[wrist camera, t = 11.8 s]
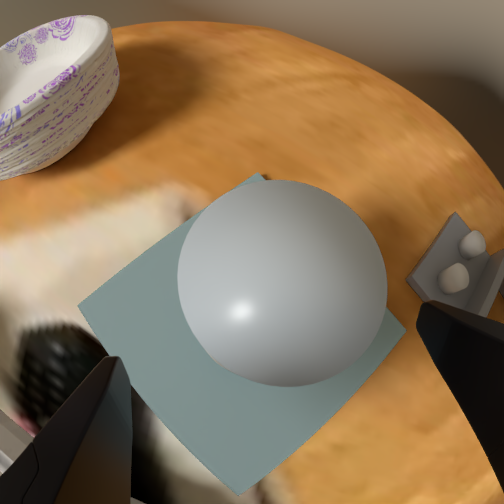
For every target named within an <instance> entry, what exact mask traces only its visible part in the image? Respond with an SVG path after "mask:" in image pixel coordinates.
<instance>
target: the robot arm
mask: <svg viewBox="0 0 504 504" xmlns="http://www.w3.org/2000/svg"><path fill="white" fill-rule="evenodd" d="M416 328H417V331H418V333H419V335H420V337H421V338H422V340H423V342H424V344H425V346H426V348H427V350H428V352H429V354H430V356H431V358H432V360H433V362H434V364H435V366H436V367H437V369H438V371H439V372H440V374H441V375H442V377H443V379H444V380H445V382H446V384H447V385H448V387H449V389H450V390H451V392H452V394H453V395H454V397H455V399H456V400H457V402H458V404H459V406H460V407H461V409H462V411H463V413H464V414H465V416H466V418H467V420H468V421H469V423H470V425H471V427H472V429H473V431H474V432H475V434H476V436H477V438H478V440H479V442H480V444H481V446H482V448H483V450H484V452H485V454H486V456H487V457H488V460H489V462H490V464H491V466H492V468H493V470H494V472H495V475H496V477H497V479H498V481H499V483H500V486H501V488H502V490H503V492H504V324H503V323H500V322H497V321H494V320H491V319H488V318H486V317H483V316H480V315H477V314H474V313H471V312H468V311H465V310H462V309H460V308H457V307H454V306H451V305H448V304H445V303H442V302H439V301H436V300H429V301H426V302H423V303H422V305H421V307H420V311H419V315H418V318H417V322H416ZM131 452H132V415H131V386H130V379H129V376H128V374H127V371H126V369H125V366H124V364H123V362H122V359H121V358H120V357H119V356H107V357H104V358H103V359H102V360H101V362H100V363H99V364H98V365H97V366H96V367H95V368H94V369H93V370H92V372H91V373H90V374H89V375H88V376H87V377H86V378H85V379H84V381H83V382H82V383H81V384H80V385H79V386H78V387H77V389H76V390H75V391H74V392H73V393H72V394H71V395H70V397H69V398H68V399H67V400H66V401H65V402H64V403H63V405H62V406H61V407H60V408H59V409H58V410H57V412H56V413H55V414H54V415H53V416H52V417H51V419H50V420H49V421H48V422H47V423H46V424H45V426H44V427H43V428H42V429H41V430H40V432H39V433H38V434H37V435H36V436H35V438H34V439H33V442H30V443H29V445H28V446H27V447H26V448H25V449H24V451H23V452H22V453H21V454H20V455H19V456H18V458H17V459H16V460H15V461H14V462H13V463H12V465H11V466H10V467H9V468H8V469H7V470H6V471H5V472H4V473H3V474H2V475H1V476H0V504H131Z"/></svg>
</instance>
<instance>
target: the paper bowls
mask: <svg viewBox="0 0 504 504" xmlns="http://www.w3.org/2000/svg"><path fill="white" fill-rule="evenodd" d="M119 74H120V73H119V68H118V62H117V58H116V53H115V47H114V43H113V37H112V32H111V28H110V25H109V24H108V22H106V21H105V20H104V19H102V18H100V17H97V16H90V15H78V16H71V17H66V18H61V19H58V20H55V21H52V22H49V23H46V24H43V25H41V26H38V27H36V28H33V29H31V30H29V31H27V32H25V33H23V34H21V35H19V36H18V37H16V38H14V39H13V40H11V41H9V42H8V43H6V44H5V45H3V46H2V47H0V180H6V179H9V178H12V177H16V176H18V175H21V174H27V173H32V172H35V171H38V170H41V169H43V168H45V167H47V166H49V165H51V164H53V163H54V162H56V161H58V160H59V159H60V158H62V157H63V156H65V155H66V154H67V153H69V152H70V151H71V150H72V149H73V148H74V147H75V146H76V145H77V144H78V143H79V142H80V141H81V140H82V139H83V138H84V137H85V135H86V134H87V133H88V131H89V130H90V128H91V126H92V125H93V123H94V122H95V121H96V120H97V119H98V118H99V117H100V116H101V115H102V114H103V113H104V111H105V110H106V108H107V107H108V106H109V104H110V103H111V101H112V100H113V98H114V96H115V94H116V91H117V88H118V85H119V77H120V75H119Z"/></svg>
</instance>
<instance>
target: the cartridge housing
mask: <svg viewBox="0 0 504 504" xmlns="http://www.w3.org/2000/svg"><path fill="white" fill-rule="evenodd" d="M485 249H486V243H485V239H484V237H483V236H482V234H481V233H480V232H479V231H477V230H474V231H471V230H470V229H469V228H468V226H467V225H466V224H465V223H464V221H463V220H462V219H461V218H460V217H459V215H458V214H457V213H456V212H454V213H453V214H452V215H451V216H450V217H449V218H448V220H447V221H446V223H445V225H444V226H443V228H442V229H441V231H440V232H439V234H438V235H437V237H436V238H435V239H434V241H433V242H432V244H431V245H430V247H429V248H428V250H427V251H426V252H425V254H424V255H423V257H422V258H421V259H420V261H419V262H418V264H417V265H416V266H415V268H414V269H413V270H412V272H411V273H410V274H409V276H408V277H407V278H406V281H407V282H408V284H409V285H410V286H411V287H412V288H413V289H414V291H415V292H416V293H417V294H418V295H419V297H420V298H421V299H422V300H423V301H424V302H426V301H429V300H436V301H439V302H442V303H445V304H448V305H451V306H454V307H457V308H460V309H462V310H465V311H468V312H471V313H474V314H477V315H480V316H483V317H487V315H488V313H489V311H490V309H491V307H492V304H493V302H494V300H495V297H496V295H497V293H498V290H499V291H500V293H501V294H502V296H503V298H504V249H502V250H500V251H498V252H497V253H495V254H493V255H491V256H490V255H489V254H488V253H487V251H486V250H485Z"/></svg>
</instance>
